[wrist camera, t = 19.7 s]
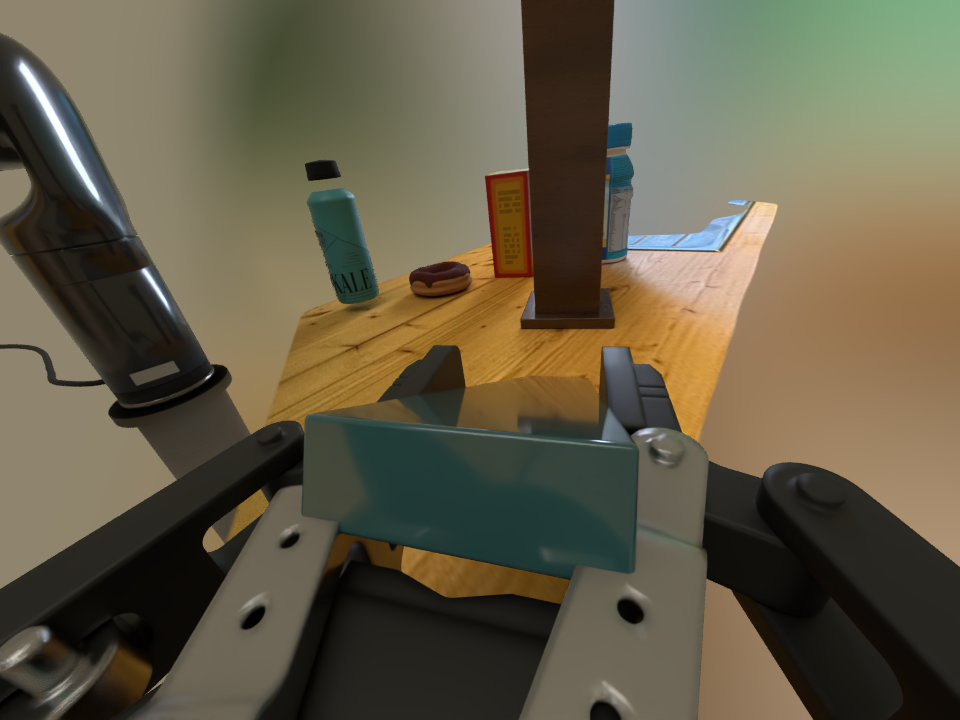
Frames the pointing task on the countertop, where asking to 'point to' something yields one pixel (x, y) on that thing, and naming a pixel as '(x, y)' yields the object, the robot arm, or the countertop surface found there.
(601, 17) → the stand
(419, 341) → the countertop surface
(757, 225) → the countertop surface
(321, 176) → the beverage bottle
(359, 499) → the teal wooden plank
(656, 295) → the countertop surface
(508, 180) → the baking soda box
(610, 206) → the beverage bottle
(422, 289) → the donut
